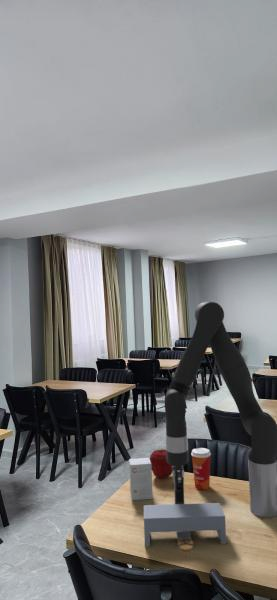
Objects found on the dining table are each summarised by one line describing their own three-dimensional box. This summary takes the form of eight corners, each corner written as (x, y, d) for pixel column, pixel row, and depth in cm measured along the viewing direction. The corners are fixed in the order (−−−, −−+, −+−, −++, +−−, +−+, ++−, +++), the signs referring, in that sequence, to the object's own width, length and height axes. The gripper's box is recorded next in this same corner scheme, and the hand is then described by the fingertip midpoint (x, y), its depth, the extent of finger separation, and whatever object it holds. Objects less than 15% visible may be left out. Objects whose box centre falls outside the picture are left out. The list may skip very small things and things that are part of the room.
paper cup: (189, 484, 154) (187, 448, 154) (206, 481, 156) (205, 446, 157) (197, 492, 146) (196, 455, 147) (215, 489, 149) (214, 452, 149)
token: (192, 542, 115) (192, 538, 115) (194, 551, 110) (194, 547, 110) (177, 543, 115) (177, 538, 115) (179, 552, 110) (178, 547, 110)
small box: (150, 491, 149) (149, 457, 149) (153, 499, 143) (151, 463, 143) (129, 493, 148) (128, 458, 149) (131, 500, 142) (130, 465, 142)
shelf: (220, 528, 121) (219, 502, 122) (226, 543, 113) (225, 516, 114) (144, 531, 121) (143, 505, 122) (144, 546, 113) (143, 518, 114)
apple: (165, 485, 154) (163, 455, 154) (144, 478, 161) (143, 450, 161) (180, 476, 162) (179, 448, 162) (160, 470, 169) (159, 443, 169)
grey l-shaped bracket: (185, 512, 132) (184, 479, 133) (191, 542, 115) (189, 503, 115) (173, 512, 132) (172, 479, 133) (178, 542, 115) (176, 504, 115)
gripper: (190, 455, 125) (192, 509, 124) (185, 441, 139) (187, 489, 138) (167, 455, 125) (169, 510, 124) (165, 441, 139) (166, 490, 138)
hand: (179, 499), depth 131 cm, fingers closed on grey l-shaped bracket, 3 cm apart
